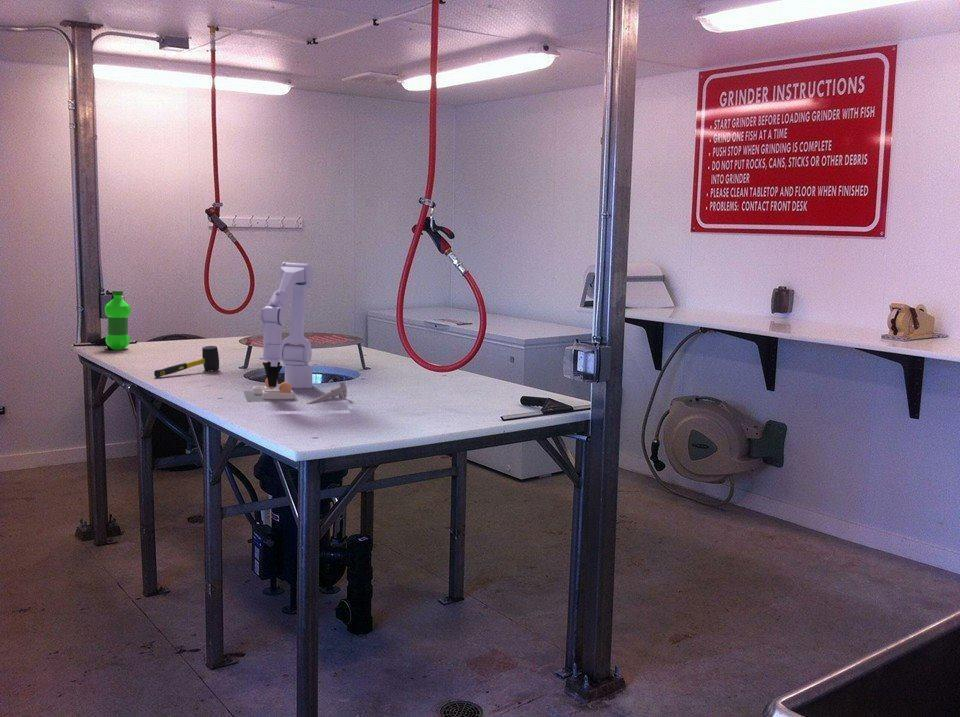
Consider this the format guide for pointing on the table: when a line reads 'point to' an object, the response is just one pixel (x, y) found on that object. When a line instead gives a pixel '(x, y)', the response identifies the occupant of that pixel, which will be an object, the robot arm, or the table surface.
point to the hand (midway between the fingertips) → (271, 385)
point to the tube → (258, 389)
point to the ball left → (285, 387)
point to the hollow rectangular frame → (277, 394)
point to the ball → (268, 385)
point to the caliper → (332, 393)
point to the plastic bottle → (117, 321)
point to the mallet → (195, 362)
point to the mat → (258, 398)
